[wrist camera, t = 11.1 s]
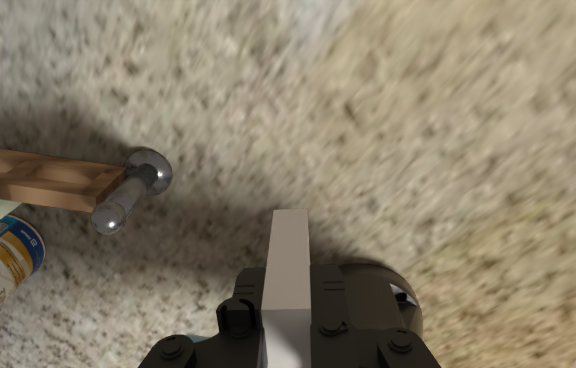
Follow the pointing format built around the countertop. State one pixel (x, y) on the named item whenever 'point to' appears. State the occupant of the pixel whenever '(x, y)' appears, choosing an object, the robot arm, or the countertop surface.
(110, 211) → the hinge post
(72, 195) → the gate
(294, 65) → the countertop surface
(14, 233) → the beverage bottle
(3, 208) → the post
